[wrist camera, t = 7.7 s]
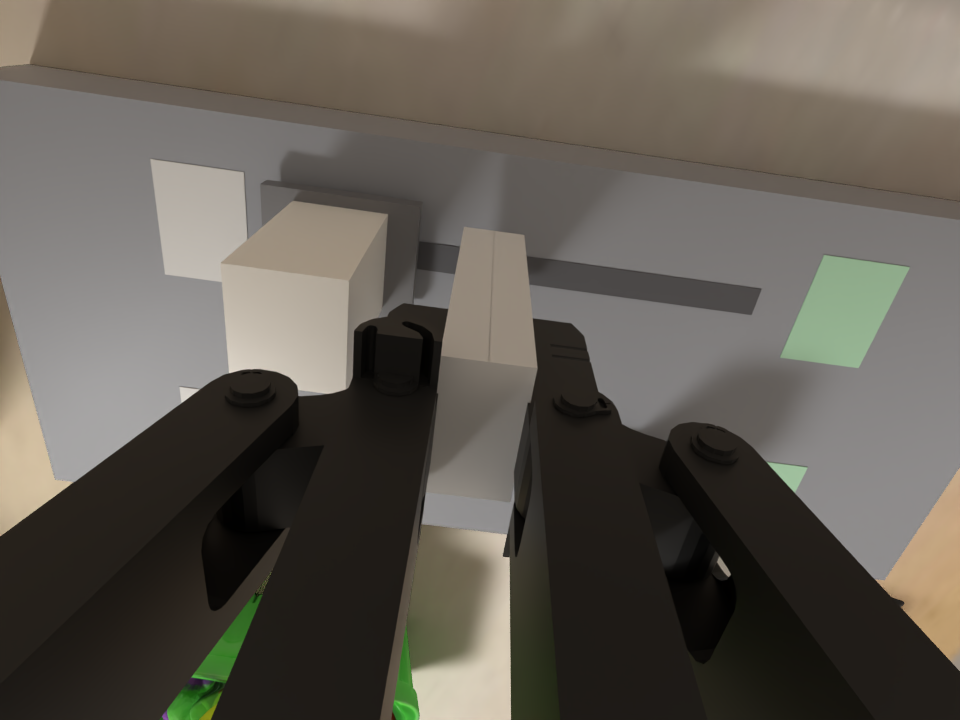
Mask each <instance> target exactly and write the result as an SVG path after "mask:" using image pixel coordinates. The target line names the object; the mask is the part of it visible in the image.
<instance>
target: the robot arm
mask: <svg viewBox="0 0 960 720" xmlns="http://www.w3.org/2000/svg"><path fill="white" fill-rule="evenodd" d="M513 486H514V504H513V509H512V514H511V519H510V524H509V528H508V533H507V538H506V543H505V548H504V553H503V557H509V556H510V642H511V720H960V671H959V670H958V669H957V668H956V667H955V666H954V665H953V664H952V663H951V661H950V660H949V659H948V658H947V657H946V656H945V655H944V654H943V653H942V652H941V651H940V650H939V648H938V647H937V646H936V645H935V644H934V643H933V642H932V641H931V640H930V639H929V638H928V637H927V635H926V634H925V633H924V632H923V631H922V630H921V629H920V628H919V627H918V626H917V625H916V624H915V622H914V621H913V620H912V619H911V618H910V617H909V616H908V615H907V614H906V613H905V612H904V611H903V609H902V608H901V607H900V606H899V605H898V604H897V603H896V602H895V601H894V600H893V599H892V598H891V596H890V595H889V594H888V593H887V592H886V591H885V590H884V589H883V588H882V587H881V586H880V585H879V583H878V582H877V581H876V580H875V579H874V578H873V577H872V576H871V575H870V574H869V573H868V572H867V570H866V569H865V568H864V567H863V566H862V565H861V564H860V563H859V562H858V561H857V560H856V559H855V557H854V556H853V555H852V554H851V553H850V552H849V551H848V550H847V549H846V548H845V547H844V546H843V545H842V543H841V542H840V541H839V540H838V539H837V538H836V537H835V536H834V535H833V534H832V533H831V532H830V530H829V529H828V528H827V527H826V526H825V525H824V524H823V523H822V522H821V521H820V520H819V519H818V517H817V516H816V515H815V514H814V513H813V512H812V511H811V510H810V509H809V508H808V507H807V506H806V504H805V503H804V502H803V501H802V500H801V499H800V498H799V497H798V496H797V495H796V494H795V493H794V491H793V490H792V489H791V488H790V487H789V486H788V485H787V484H786V483H785V482H784V481H783V480H782V478H781V477H780V476H779V475H778V474H777V473H776V472H775V471H774V470H773V469H772V468H771V467H770V465H769V464H768V463H767V462H766V461H765V460H764V459H763V458H762V457H761V456H760V455H759V454H758V452H757V451H756V450H755V449H754V448H753V447H752V446H751V445H749V444H748V443H747V442H746V441H745V440H743V439H742V438H741V437H739V436H737V435H736V434H734V433H732V432H730V431H728V430H727V429H725V428H722V427H720V426H715V425H713V424H709V423H698V422H688V423H682V424H678V425H677V426H675V427H674V428H673V429H671V431H670V433H669V436H668V439H667V441H665V440H662V439H659V438H656V437H653V436H650V435H646V434H643V433H641V432H638V431H635V430H633V429H630V428H628V427H627V426H625V425H623V424H622V422H621V419H620V416H619V412H618V410H617V408H616V407H615V405H614V403H613V402H612V401H611V400H610V399H608V398H607V397H606V396H605V395H603V394H602V393H600V392H598V388H597V384H596V381H595V377H594V373H593V369H592V365H591V362H590V357H589V353H588V351H587V345H586V341H585V338H584V335H583V334H582V333H581V332H580V331H579V330H578V329H577V328H576V327H575V326H574V325H573V324H572V323H565V322H558V321H550V320H542V319H535V318H532V308H531V297H530V287H529V277H528V267H527V257H526V247H525V237H524V235H521V234H514V233H507V232H499V231H492V230H485V229H477V228H470V227H464V230H463V235H462V240H461V246H460V251H459V256H458V261H457V267H456V272H455V277H454V283H453V288H452V293H451V299H450V304H449V309H445V308H437V307H429V306H422V305H414V304H407V303H402V304H401V305H399V306H398V307H396V308H395V309H393V310H392V311H390V312H389V314H388V316H387V317H381V318H374V319H371V320H368V321H366V322H363V323H361V324H360V325H359V326H358V327H357V328H356V329H355V330H354V346H353V378H352V380H351V383H350V385H349V388H347V389H345V390H342V391H339V392H335V393H330V394H322V395H310V396H298V387H297V384H296V383H295V382H294V381H293V380H292V379H291V378H290V377H288V376H285V375H283V374H281V373H278V372H275V371H268V370H263V369H253V370H251V369H245V370H240V371H236V372H232V373H228V374H224V375H222V376H220V377H218V378H217V379H215V380H213V381H211V382H209V383H208V384H207V385H205V386H204V387H203V388H201V389H200V390H199V391H197V392H196V393H194V394H193V395H192V396H190V397H189V398H188V399H186V400H185V401H184V402H182V403H181V404H180V405H178V406H177V407H175V408H174V409H173V410H171V411H170V412H169V413H167V414H166V415H165V416H163V417H162V418H161V419H159V420H158V421H156V422H155V423H154V424H152V425H151V426H150V427H148V428H147V429H146V430H144V431H143V432H142V433H140V434H139V435H137V436H136V437H135V438H133V439H132V440H131V441H129V442H128V443H127V444H125V445H124V446H123V447H121V448H120V449H118V450H117V451H116V452H114V453H113V454H112V455H110V456H109V457H108V458H106V459H105V460H104V461H102V462H101V463H99V464H98V465H97V466H95V467H94V468H93V469H91V470H90V471H89V472H87V473H86V474H85V475H83V476H82V477H80V478H79V479H78V480H76V481H75V482H74V483H72V484H71V485H70V486H68V487H67V488H66V489H64V490H63V491H61V492H60V493H59V494H57V495H56V496H55V497H53V498H52V499H51V500H49V501H48V502H47V503H45V504H44V505H42V506H41V507H40V508H38V509H37V510H36V511H34V512H33V513H32V514H30V515H29V516H28V517H26V518H25V519H23V520H22V521H21V522H19V523H18V524H17V525H15V526H14V527H13V528H11V529H10V530H9V531H7V532H6V533H4V534H3V535H2V536H0V720H160V718H161V717H162V716H163V714H164V713H165V712H166V710H167V709H168V708H169V706H170V705H171V704H172V702H173V701H174V700H175V698H176V697H177V696H178V694H179V693H180V692H181V690H182V689H183V688H184V686H185V685H186V684H187V682H188V681H189V680H190V678H191V677H192V676H193V674H194V673H195V672H196V670H197V669H198V668H199V666H200V665H201V664H202V662H203V661H204V660H205V658H206V657H207V656H208V654H209V653H210V652H211V651H212V649H213V648H214V647H215V645H216V644H217V643H218V641H219V640H220V639H221V637H222V636H223V635H224V633H225V632H226V631H227V629H228V628H229V627H230V625H231V624H232V623H233V621H234V620H235V619H236V617H237V616H238V615H239V613H240V612H241V611H242V609H243V608H244V607H245V605H246V604H247V603H248V601H249V600H250V599H251V597H252V596H253V595H254V593H255V592H256V591H257V589H258V588H259V587H260V585H261V584H262V583H263V581H264V580H265V579H266V578H267V576H268V575H269V574H270V572H271V571H272V570H273V571H272V573H271V576H270V578H269V580H268V583H267V585H266V588H265V590H264V592H263V595H262V597H261V600H260V602H259V604H258V607H257V609H256V612H255V614H254V616H253V619H252V621H251V624H250V626H249V628H248V631H247V633H246V636H245V638H244V641H243V643H242V645H241V648H240V650H239V653H238V655H237V657H236V660H235V662H234V665H233V667H232V669H231V672H230V674H229V677H228V679H227V681H226V684H225V686H224V689H223V691H222V694H221V696H220V698H219V701H218V703H217V706H216V708H215V710H214V713H213V715H212V718H211V720H391V717H392V710H393V704H394V698H395V691H396V685H397V679H398V672H399V666H400V660H401V653H402V647H403V640H404V634H405V628H406V621H407V615H408V609H409V602H410V596H411V590H412V583H413V577H414V571H415V564H416V558H417V552H418V545H419V539H420V532H421V526H422V520H423V513H424V504H425V495H426V492H428V493H437V494H445V495H453V496H461V497H470V498H478V499H486V500H494V501H503V502H510V501H511V496H512V491H513ZM719 556H720V558H721V559H722V561H723V562H724V564H725V565H726V567H727V568H728V570H729V572H730V574H731V575H730V576H729V577H728V576H727V575H726V574H725V573H724V572H723V570H722V569H721V567H720V566H719V564H718V563H717V561H718V559H719Z"/></svg>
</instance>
